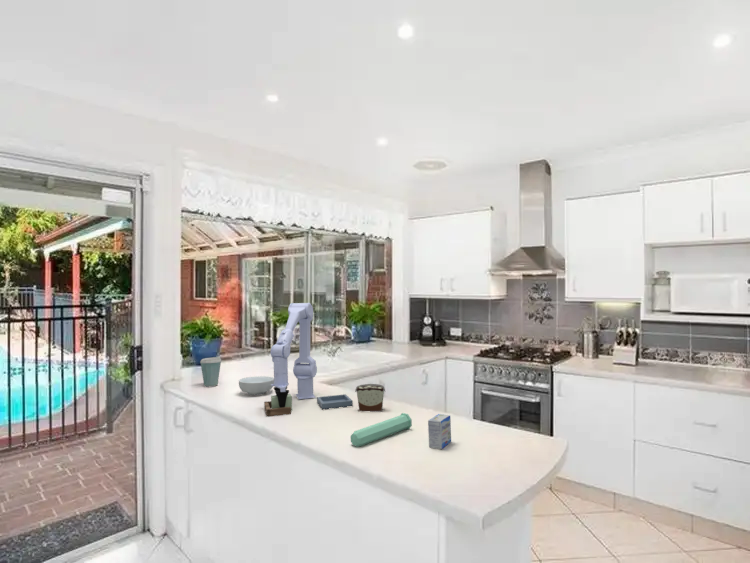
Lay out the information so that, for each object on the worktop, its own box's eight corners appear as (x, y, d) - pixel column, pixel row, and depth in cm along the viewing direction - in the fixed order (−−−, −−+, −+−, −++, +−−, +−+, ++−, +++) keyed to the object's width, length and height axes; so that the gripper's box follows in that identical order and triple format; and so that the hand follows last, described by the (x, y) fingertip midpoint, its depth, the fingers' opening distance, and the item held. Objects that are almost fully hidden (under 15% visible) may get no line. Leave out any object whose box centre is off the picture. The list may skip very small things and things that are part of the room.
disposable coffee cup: (196, 387, 232) (195, 359, 232) (207, 383, 242) (206, 355, 243) (215, 388, 230) (214, 359, 230) (225, 383, 241) (225, 355, 241)
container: (356, 429, 140) (408, 411, 157) (345, 432, 144) (397, 414, 161) (361, 448, 138) (414, 427, 156) (350, 451, 142) (402, 431, 159)
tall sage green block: (271, 410, 186) (271, 395, 186) (290, 408, 189) (290, 393, 189) (272, 412, 182) (272, 398, 182) (292, 410, 184) (291, 396, 184)
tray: (317, 402, 196) (316, 397, 196) (345, 399, 200) (345, 394, 200) (322, 409, 184) (322, 403, 184) (352, 406, 188) (352, 400, 188)
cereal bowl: (269, 397, 208) (269, 382, 208) (234, 398, 208) (233, 383, 208) (278, 389, 225) (277, 375, 225) (245, 389, 225) (245, 375, 225)
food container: (386, 407, 186) (386, 383, 186) (385, 411, 180) (385, 386, 180) (357, 407, 187) (357, 383, 187) (355, 411, 181) (355, 386, 181)
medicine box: (441, 450, 136) (440, 421, 137) (428, 447, 139) (427, 419, 139) (451, 442, 143) (450, 415, 143) (438, 439, 145) (438, 413, 146)
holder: (264, 407, 190) (264, 401, 190) (286, 405, 193) (286, 399, 193) (266, 416, 177) (266, 410, 177) (291, 413, 179) (290, 407, 179)
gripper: (269, 370, 191) (270, 402, 191) (272, 377, 177) (273, 411, 177) (286, 369, 193) (286, 400, 193) (290, 375, 179) (291, 409, 179)
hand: (281, 405), depth 185 cm, fingers closed on tall sage green block, 4 cm apart
